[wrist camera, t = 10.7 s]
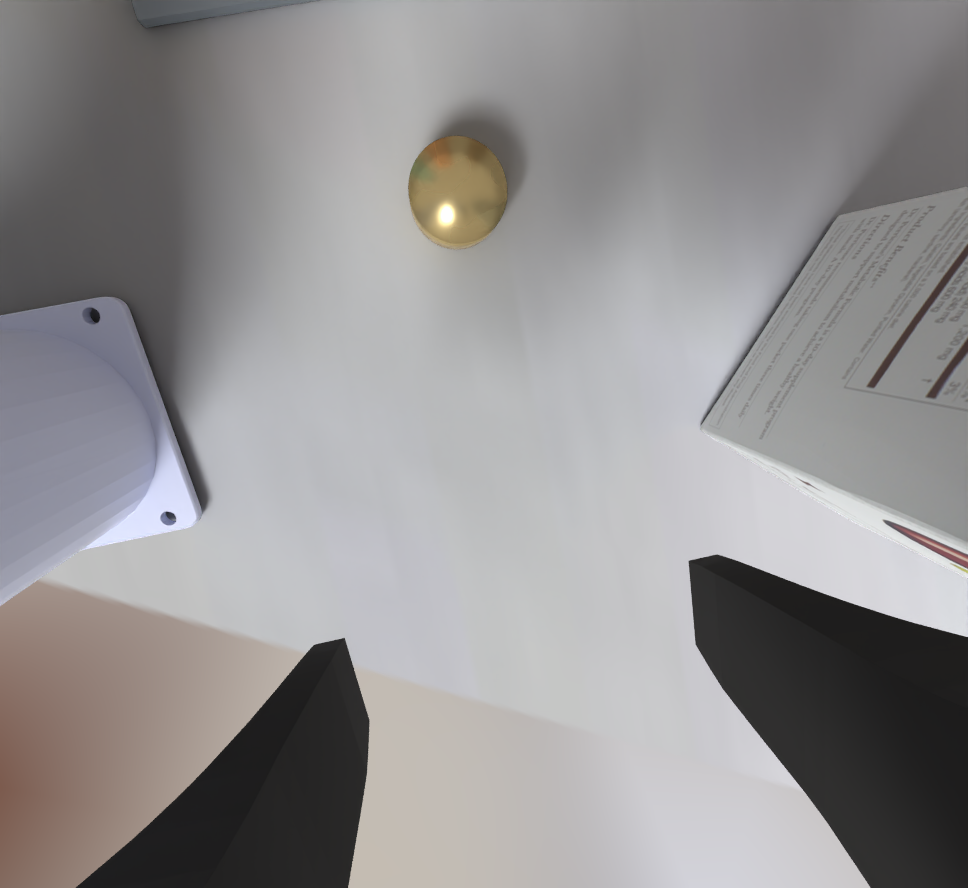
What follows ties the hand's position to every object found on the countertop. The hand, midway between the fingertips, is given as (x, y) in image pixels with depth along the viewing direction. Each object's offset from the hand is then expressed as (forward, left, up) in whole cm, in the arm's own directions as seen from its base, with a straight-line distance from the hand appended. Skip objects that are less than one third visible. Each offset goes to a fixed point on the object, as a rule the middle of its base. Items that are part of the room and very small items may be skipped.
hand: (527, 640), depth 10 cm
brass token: (+1, +10, -10) cm, 14 cm away
